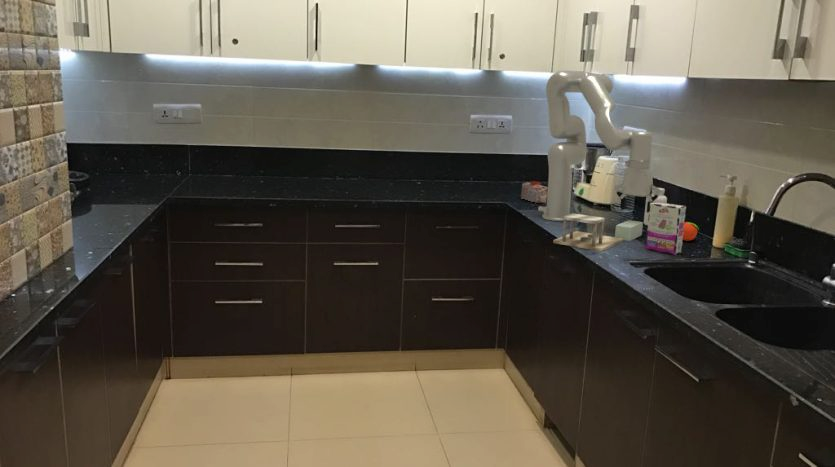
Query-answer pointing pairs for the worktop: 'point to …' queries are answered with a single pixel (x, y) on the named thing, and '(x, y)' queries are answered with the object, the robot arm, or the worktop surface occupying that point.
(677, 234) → the candy bar box
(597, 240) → the overhang stand
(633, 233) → the pale green block
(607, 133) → the robot arm
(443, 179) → the worktop surface
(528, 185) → the food item
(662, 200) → the pill bottle
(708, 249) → the worktop surface
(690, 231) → the clementine
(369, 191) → the worktop surface
